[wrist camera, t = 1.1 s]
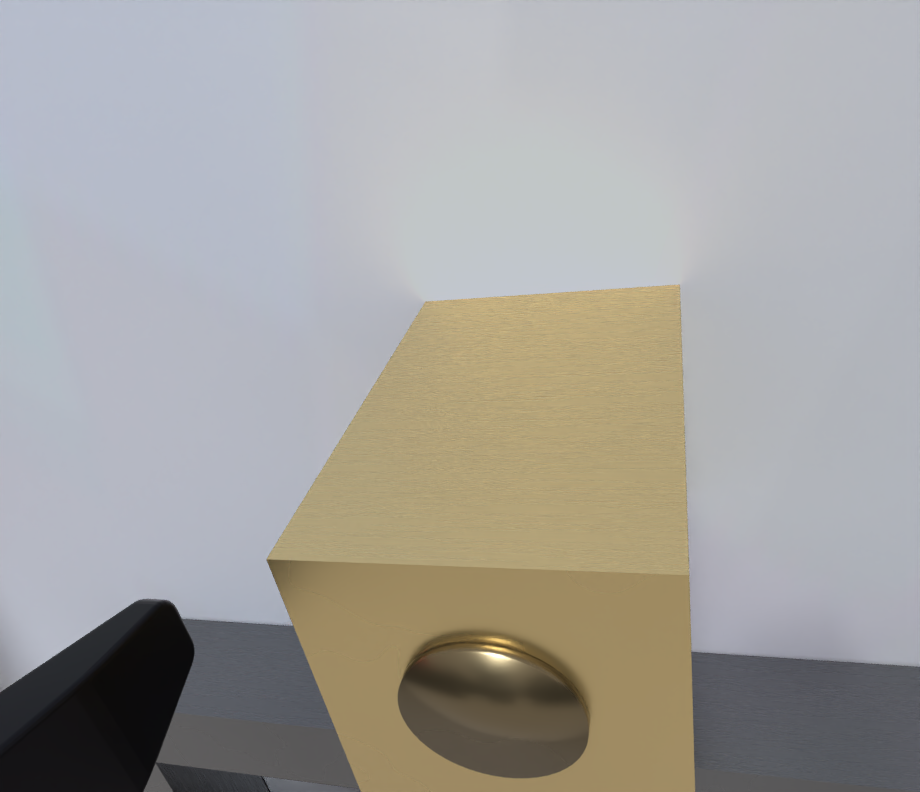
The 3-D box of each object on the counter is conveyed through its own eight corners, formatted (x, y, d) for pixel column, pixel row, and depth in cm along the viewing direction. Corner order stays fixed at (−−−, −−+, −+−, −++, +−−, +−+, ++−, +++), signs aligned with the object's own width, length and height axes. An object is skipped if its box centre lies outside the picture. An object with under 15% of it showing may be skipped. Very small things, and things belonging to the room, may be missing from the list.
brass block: (679, 283, 11) (689, 587, 6) (685, 494, 13) (697, 854, 8) (425, 301, 12) (259, 569, 7) (466, 491, 14) (358, 806, 9)
